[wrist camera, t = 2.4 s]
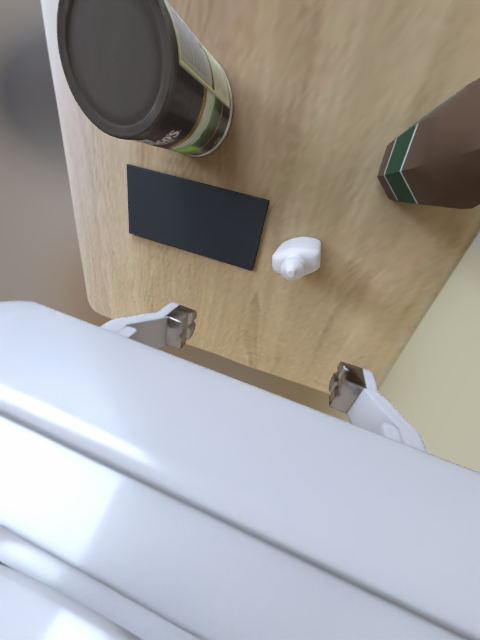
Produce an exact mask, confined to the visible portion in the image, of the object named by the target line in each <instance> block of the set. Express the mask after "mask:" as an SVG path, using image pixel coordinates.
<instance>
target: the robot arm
mask: <svg viewBox="0 0 480 640" xmlns="http://www.w3.org/2000/svg"><path fill="white" fill-rule="evenodd" d="M196 317H197V312H196V311H195V310H193V309H190V308H187V307H184V306H182V305H179V304H176V303H173V302H171V303H170V304H168V305H167V306H166V307H164V308H163V309H161V310H160V311H159V312H157V313H149V314H142V315H136V316H130V317H123V318H117V319H112V320H110V321H108V322H107V323H105V324H104V325H102V326H100V327H98V326H96V325H93V324H90V323H88V322H85V321H83V320H80V319H77V318H75V317H72V316H69V315H67V314H64V313H61V312H59V311H56V310H54V309H51V308H48V307H46V306H44V305H41V304H39V303H36V302H32V301H6V302H0V640H480V473H479V472H476V471H474V470H471V469H468V468H466V467H463V466H460V465H458V464H455V463H452V462H450V461H447V460H445V459H442V458H439V457H437V456H434V455H432V454H429V453H428V452H427V450H426V448H425V445H424V442H423V440H422V437H421V435H420V434H419V433H418V432H417V431H416V430H415V429H414V428H413V427H412V426H411V425H410V423H409V422H408V421H407V420H406V419H405V418H404V417H403V416H402V415H401V414H400V413H399V412H398V411H397V410H396V409H395V408H394V407H393V406H392V405H391V404H390V403H389V402H388V401H387V400H386V399H385V398H384V397H383V395H381V394H379V393H378V389H377V386H376V382H375V379H374V375H373V372H372V371H370V370H367V369H363V368H360V367H357V366H354V365H351V364H347V363H344V362H340V363H339V365H338V367H337V372H336V373H334V374H333V376H332V378H331V380H330V383H329V391H330V393H331V395H330V396H329V404H330V405H329V406H330V407H331V408H334V409H336V410H339V411H341V412H344V413H346V414H347V416H348V418H349V420H350V422H351V423H352V424H351V423H348V422H346V421H343V420H341V419H338V418H335V417H333V416H330V415H328V414H325V413H322V412H320V411H317V410H315V409H312V408H309V407H307V406H304V405H302V404H299V403H296V402H293V401H291V400H288V399H286V398H283V397H280V396H278V395H275V394H272V393H270V392H268V391H265V390H262V389H259V388H257V387H255V386H252V385H249V384H247V383H244V382H242V381H239V380H236V379H234V378H231V377H229V376H226V375H223V374H220V373H218V372H215V371H213V370H210V369H208V368H205V367H202V366H200V365H197V364H195V363H192V362H189V361H187V360H184V359H182V358H179V357H176V356H174V355H171V354H169V353H166V352H163V351H161V350H158V349H159V348H161V347H164V346H165V345H167V346H169V347H172V348H176V349H178V350H180V349H181V348H182V347H183V345H184V344H185V343H186V340H188V339H190V338H191V337H192V335H193V333H194V330H195V325H196V324H195V322H194V320H195V319H196Z"/></svg>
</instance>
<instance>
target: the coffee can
mask: <svg viewBox="0 0 480 640" xmlns="http://www.w3.org/2000/svg"><path fill="white" fill-rule="evenodd" d="M57 40H58V48H59V54H60V58H61V63H62V67H63V70H64V74H65V77H66V80H67V82H68V85H69V88H70V90H71V92H72V94H73V96H74V98H75V100H76V102H77V103H78V105H79V106H80V108H81V109H82V111H83V112H84V113H85V115H86V116H87V117H88V118H89V119H90V121H91V122H92V123H93V124H94V125H95V126H97V127H98V128H99V129H100V130H101V131H103V132H105V133H106V134H108V135H110V136H113V137H116V138H119V139H125V140H134V141H137V142H142V143H146V144H150V145H153V146H157V147H161V148H165V149H169V150H173V151H176V152H180V153H183V154H186V155H188V156H192V157H201V156H205V155H207V154H209V153H211V152H213V151H214V150H215V149H216V148H217V147H218V146H219V145H220V144H221V143H222V141H223V140H224V138H225V136H226V134H227V132H228V130H229V127H230V123H231V119H232V111H233V100H232V92H231V87H230V84H229V81H228V78H227V76H226V74H225V72H224V70H223V68H222V67H221V65H220V64H219V63H218V62H217V61H216V60H215V59H214V58H213V57H212V56H211V55H210V53H209V52H208V51H207V50H206V48H205V47H204V46H203V45H202V44H201V42H200V41H199V40H198V39H197V38H196V36H195V35H194V34H193V33H192V31H191V30H190V29H189V28H188V27H187V25H186V24H185V23H184V22H183V21H182V19H181V18H180V17H179V16H178V14H177V13H176V12H175V11H174V9H173V8H172V7H171V6H170V5H169V3H168V2H167V1H166V0H59V4H58V12H57Z"/></svg>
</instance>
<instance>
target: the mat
mask: <svg viewBox="0 0 480 640" xmlns="http://www.w3.org/2000/svg"><path fill="white" fill-rule="evenodd" d="M127 184H128V210H129V233H131V234H134V235H137V236H140V237H144V238H147V239H150V240H153V241H157V242H160V243H163V244H166V245H170V246H173V247H176V248H179V249H183V250H186V251H189V252H193V253H196V254H199V255H202V256H206V257H209V258H212V259H215V260H219V261H222V262H225V263H228V264H232V265H235V266H238V267H241V268H245V269H248V270H251V271H252V270H253V266H254V262H255V258H256V254H257V250H258V246H259V241H260V237H261V233H262V229H263V225H264V221H265V217H266V213H267V208H268V204H269V200H265V199H261V198H257V197H253V196H249V195H246V194H242V193H238V192H234V191H230V190H226V189H222V188H218V187H214V186H211V185H207V184H203V183H199V182H195V181H191V180H187V179H183V178H179V177H176V176H172V175H168V174H164V173H160V172H156V171H152V170H148V169H144V168H141V167H137V166H133V165H129V164H127Z"/></svg>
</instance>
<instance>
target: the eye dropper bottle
mask: <svg viewBox="0 0 480 640" xmlns="http://www.w3.org/2000/svg"><path fill="white" fill-rule="evenodd" d="M320 263H321V242H320V241H319V240H318V239H315V238H311V237H297V238H293V239H290V240H287V241H285V242H283V243H282V244H281V245H280V246H279V248H278V249H277V250H276V252H275V253H274V254H273V256H272V267H273V270H274V272H276V273H278V274H280V275H282V276H283V277H284V278H285V279H286V280H288V281H296V280H298V279H300V278H301V277H302V276H304V275H307V274H310V273H312V272H314V271H316V270H318V269H319V267H320Z"/></svg>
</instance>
